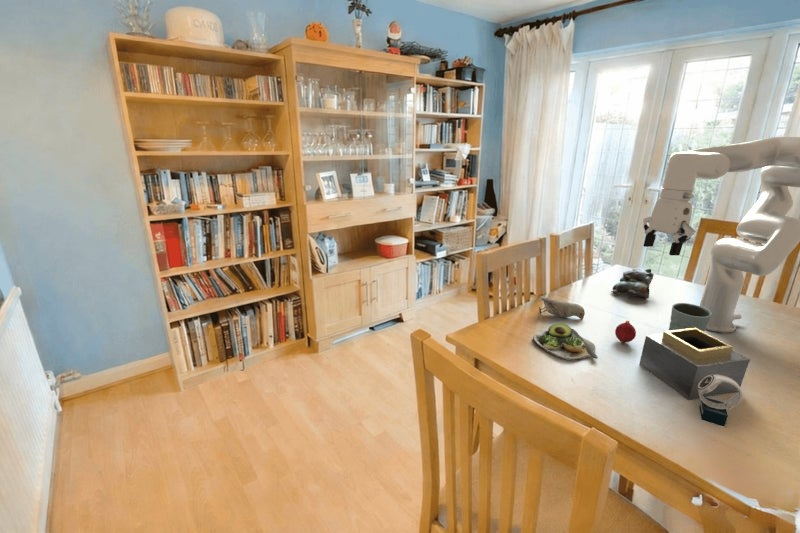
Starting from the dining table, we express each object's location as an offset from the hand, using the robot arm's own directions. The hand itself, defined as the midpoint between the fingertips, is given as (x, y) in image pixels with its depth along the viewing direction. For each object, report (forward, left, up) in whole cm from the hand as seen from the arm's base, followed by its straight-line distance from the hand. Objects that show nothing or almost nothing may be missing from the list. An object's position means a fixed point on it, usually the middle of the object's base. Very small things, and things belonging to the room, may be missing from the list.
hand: (660, 250), depth 117 cm
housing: (+6, +22, -30) cm, 38 cm away
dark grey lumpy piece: (-23, -31, -31) cm, 49 cm away
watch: (+14, +36, -31) cm, 50 cm away
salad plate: (+29, -1, -31) cm, 42 cm away
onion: (+9, +2, -31) cm, 32 cm away
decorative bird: (+18, -19, -31) cm, 40 cm away
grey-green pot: (-10, +6, -31) cm, 33 cm away
